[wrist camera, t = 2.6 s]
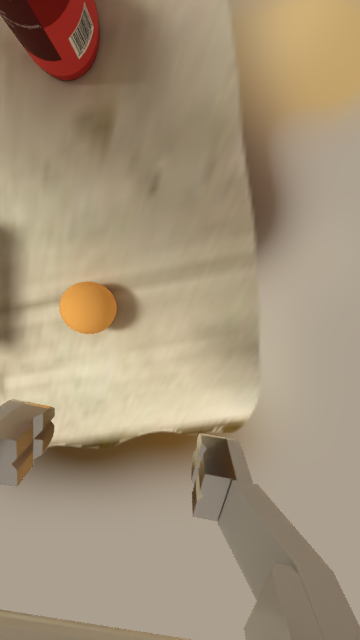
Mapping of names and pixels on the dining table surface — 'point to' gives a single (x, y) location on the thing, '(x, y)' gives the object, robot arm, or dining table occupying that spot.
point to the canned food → (55, 33)
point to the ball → (88, 307)
